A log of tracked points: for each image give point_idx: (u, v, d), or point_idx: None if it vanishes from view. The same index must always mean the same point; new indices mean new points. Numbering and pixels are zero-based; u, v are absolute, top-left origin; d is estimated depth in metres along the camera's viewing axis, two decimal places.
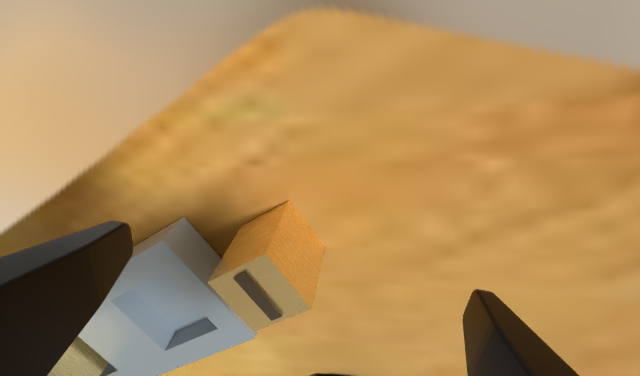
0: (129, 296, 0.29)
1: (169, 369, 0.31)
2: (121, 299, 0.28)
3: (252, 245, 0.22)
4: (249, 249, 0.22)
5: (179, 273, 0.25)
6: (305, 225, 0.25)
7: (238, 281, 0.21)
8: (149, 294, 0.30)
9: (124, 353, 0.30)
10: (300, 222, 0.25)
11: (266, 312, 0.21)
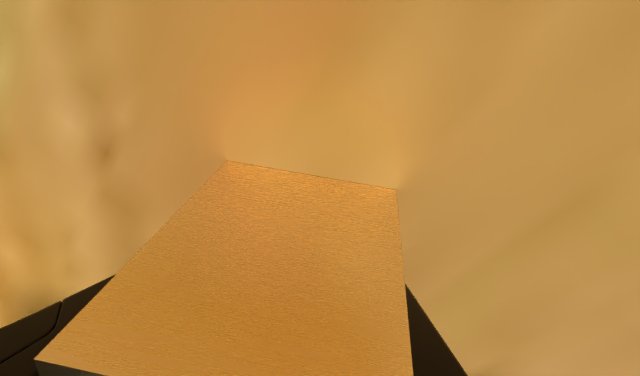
0: None
1: None
2: None
3: None
4: None
5: None
6: (300, 181, 0.09)
7: None
8: None
9: None
10: (278, 182, 0.09)
11: None
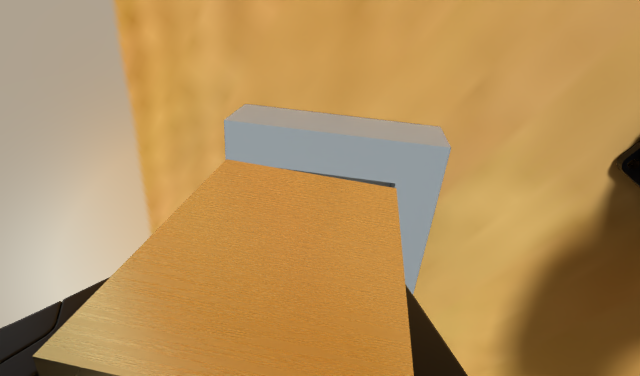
0: None
1: None
2: None
3: None
4: None
5: (281, 146, 0.17)
6: (299, 179, 0.09)
7: None
8: None
9: None
10: (278, 180, 0.09)
11: None
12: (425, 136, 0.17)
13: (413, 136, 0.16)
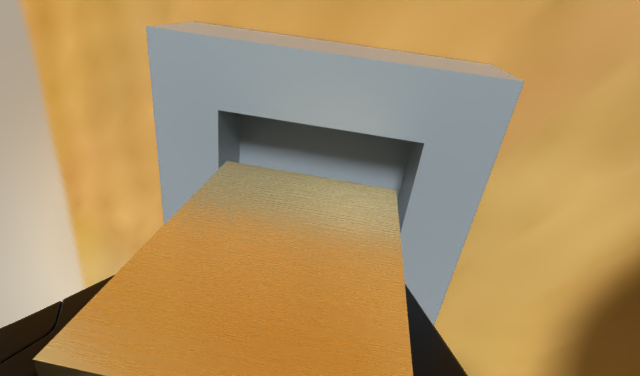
0: None
1: None
2: None
3: None
4: None
5: (240, 75, 0.10)
6: (300, 181, 0.09)
7: None
8: None
9: None
10: (278, 182, 0.09)
11: None
12: (475, 68, 0.10)
13: (457, 67, 0.10)
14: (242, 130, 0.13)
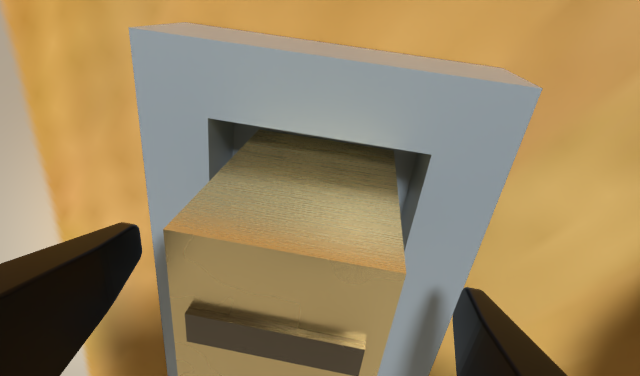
0: None
1: (430, 357, 0.13)
2: None
3: None
4: None
5: (231, 81, 0.09)
6: (318, 143, 0.11)
7: (200, 339, 0.08)
8: None
9: None
10: (301, 144, 0.11)
11: (325, 365, 0.07)
12: (487, 74, 0.09)
13: (467, 72, 0.09)
14: (235, 138, 0.12)
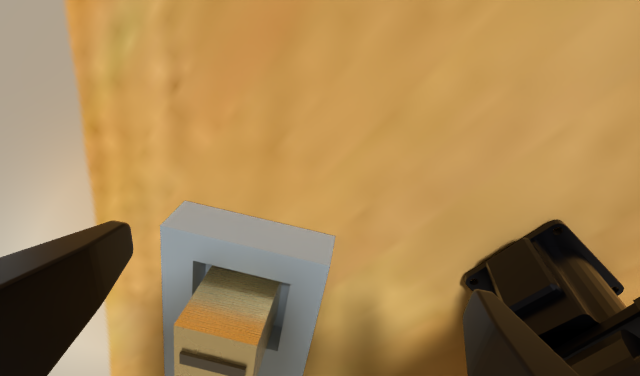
0: None
1: (301, 370, 0.25)
2: None
3: None
4: None
5: (203, 248, 0.21)
6: None
7: (184, 363, 0.20)
8: None
9: None
10: None
11: (231, 374, 0.19)
12: (316, 250, 0.22)
13: (306, 250, 0.21)
14: None
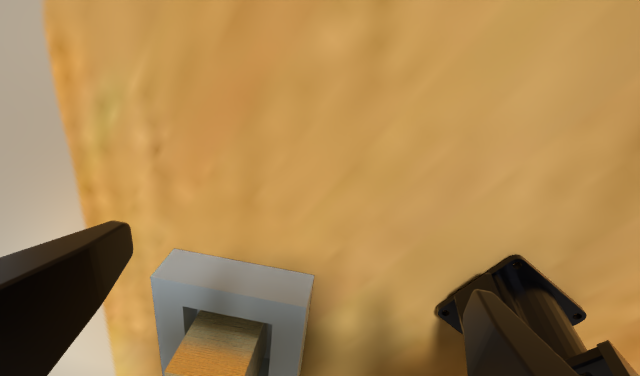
0: None
1: None
2: None
3: None
4: None
5: (191, 295, 0.23)
6: None
7: None
8: None
9: None
10: None
11: None
12: (294, 292, 0.23)
13: (285, 292, 0.23)
14: None
